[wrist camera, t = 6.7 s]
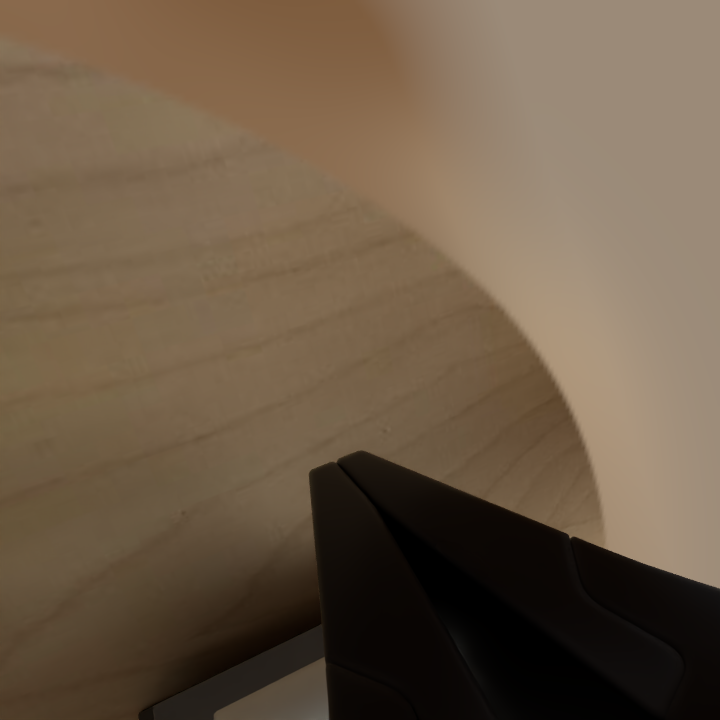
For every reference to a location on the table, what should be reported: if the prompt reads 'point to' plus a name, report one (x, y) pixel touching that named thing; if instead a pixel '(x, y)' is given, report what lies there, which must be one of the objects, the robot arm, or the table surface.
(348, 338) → the table surface
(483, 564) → the robot arm
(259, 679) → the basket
